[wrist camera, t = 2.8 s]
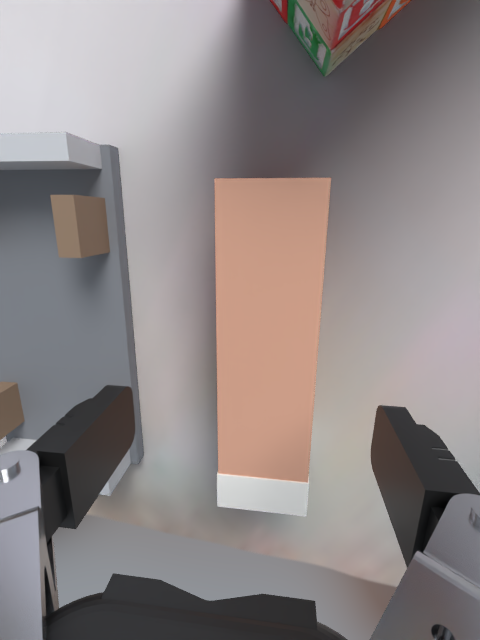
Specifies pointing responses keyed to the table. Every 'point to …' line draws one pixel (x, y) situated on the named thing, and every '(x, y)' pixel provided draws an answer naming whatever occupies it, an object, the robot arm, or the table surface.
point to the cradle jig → (62, 285)
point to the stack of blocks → (335, 25)
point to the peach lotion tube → (267, 337)
